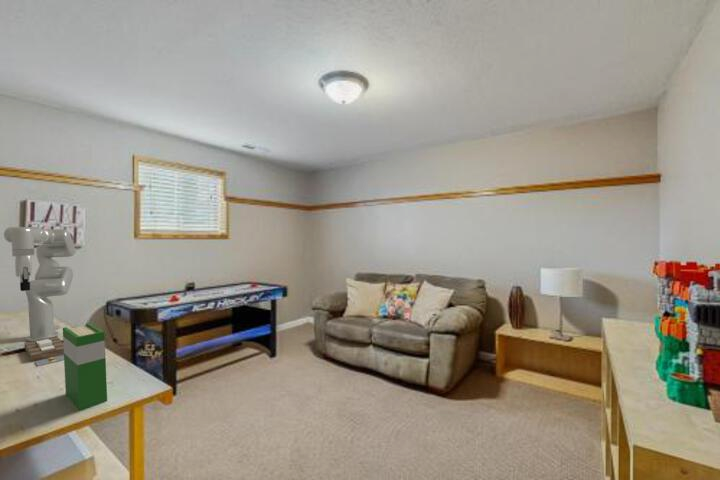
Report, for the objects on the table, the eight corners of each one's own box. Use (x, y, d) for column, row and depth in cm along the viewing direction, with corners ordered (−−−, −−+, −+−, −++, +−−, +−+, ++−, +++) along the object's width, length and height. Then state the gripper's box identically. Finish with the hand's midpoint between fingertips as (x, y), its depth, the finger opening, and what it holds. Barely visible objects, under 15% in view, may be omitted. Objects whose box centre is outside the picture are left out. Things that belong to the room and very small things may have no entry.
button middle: (38, 346, 159) (38, 342, 159) (50, 344, 162) (50, 339, 162) (39, 348, 156) (39, 344, 156) (52, 346, 160) (52, 341, 160)
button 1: (36, 345, 164) (36, 341, 164) (48, 343, 167) (48, 338, 167) (37, 347, 161) (37, 343, 161) (49, 345, 164) (49, 340, 164)
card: (35, 362, 146) (35, 360, 146) (65, 355, 154) (65, 354, 154) (37, 366, 142) (37, 365, 142) (68, 359, 150) (68, 357, 149)
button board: (24, 348, 163) (24, 342, 163) (57, 341, 172) (57, 336, 172) (31, 362, 147) (31, 355, 146) (67, 353, 156) (67, 347, 156)
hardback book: (65, 394, 118) (62, 327, 117) (91, 386, 124) (89, 322, 123) (79, 410, 107) (76, 337, 106) (107, 401, 113) (104, 331, 112)
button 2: (40, 352, 155) (40, 347, 155) (53, 349, 158) (53, 345, 158) (42, 354, 152) (41, 350, 152) (54, 351, 155) (54, 347, 155)
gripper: (10, 252, 162) (12, 289, 163) (13, 254, 153) (15, 293, 154) (32, 251, 168) (34, 287, 169) (36, 253, 159) (38, 291, 159)
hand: (25, 290), depth 161 cm, fingers closed
